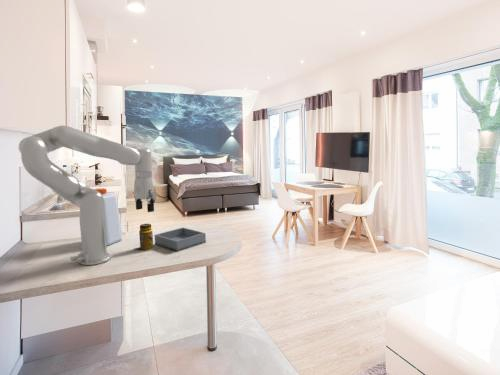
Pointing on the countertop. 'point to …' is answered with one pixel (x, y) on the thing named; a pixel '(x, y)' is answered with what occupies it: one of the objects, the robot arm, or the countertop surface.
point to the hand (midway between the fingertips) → (144, 210)
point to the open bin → (180, 239)
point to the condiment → (145, 238)
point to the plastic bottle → (111, 217)
